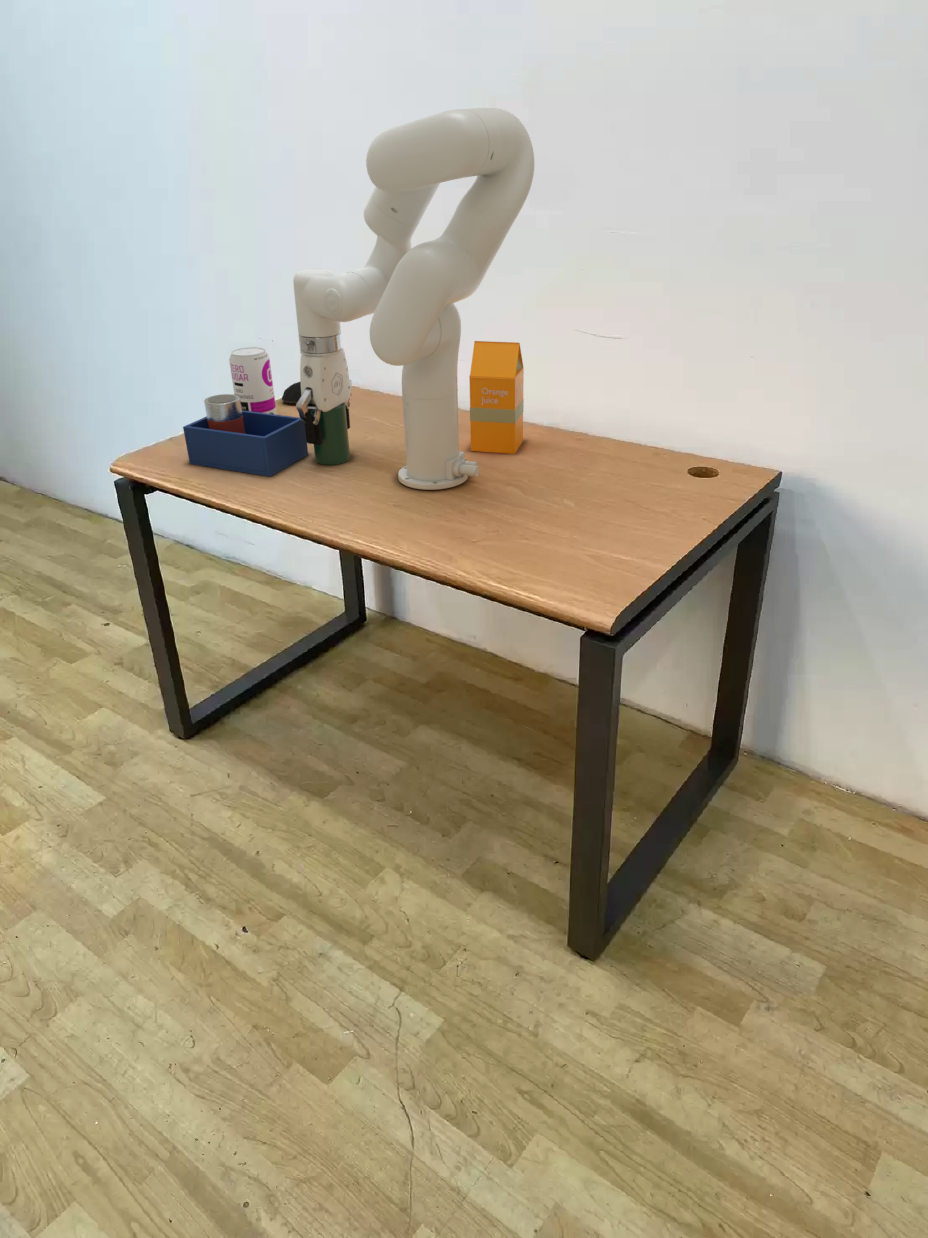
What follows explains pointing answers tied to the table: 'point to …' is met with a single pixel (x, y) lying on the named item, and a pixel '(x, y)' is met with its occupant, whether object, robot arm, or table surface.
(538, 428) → the table surface
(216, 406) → the silver can
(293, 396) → the gaming mouse
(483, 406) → the orange juice
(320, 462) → the green can
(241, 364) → the supplement can
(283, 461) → the blue storage box
